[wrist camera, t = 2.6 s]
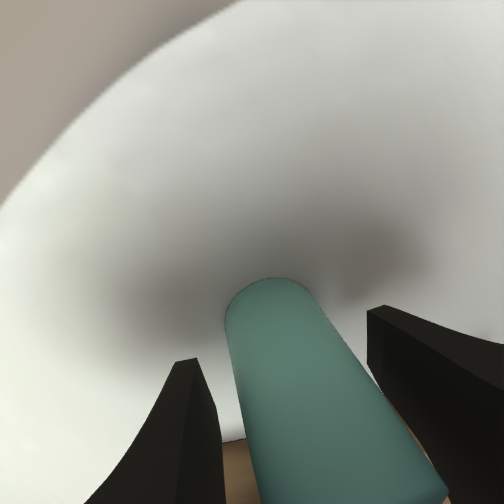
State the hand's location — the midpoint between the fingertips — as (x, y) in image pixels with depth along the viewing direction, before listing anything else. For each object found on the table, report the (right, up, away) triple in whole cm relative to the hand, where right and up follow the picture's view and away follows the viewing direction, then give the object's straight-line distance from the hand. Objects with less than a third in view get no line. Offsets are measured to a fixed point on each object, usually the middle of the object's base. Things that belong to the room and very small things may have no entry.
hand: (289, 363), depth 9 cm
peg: (0, +1, +2) cm, 2 cm away
